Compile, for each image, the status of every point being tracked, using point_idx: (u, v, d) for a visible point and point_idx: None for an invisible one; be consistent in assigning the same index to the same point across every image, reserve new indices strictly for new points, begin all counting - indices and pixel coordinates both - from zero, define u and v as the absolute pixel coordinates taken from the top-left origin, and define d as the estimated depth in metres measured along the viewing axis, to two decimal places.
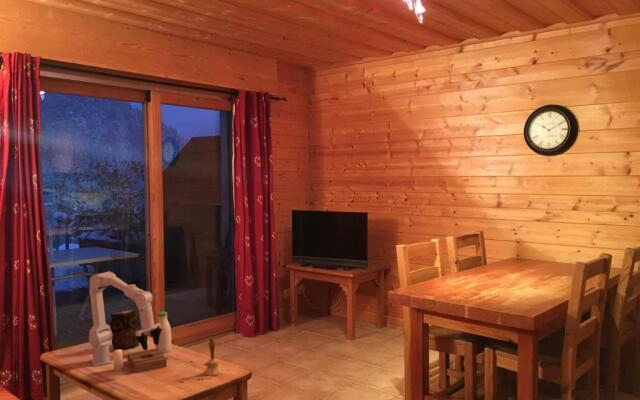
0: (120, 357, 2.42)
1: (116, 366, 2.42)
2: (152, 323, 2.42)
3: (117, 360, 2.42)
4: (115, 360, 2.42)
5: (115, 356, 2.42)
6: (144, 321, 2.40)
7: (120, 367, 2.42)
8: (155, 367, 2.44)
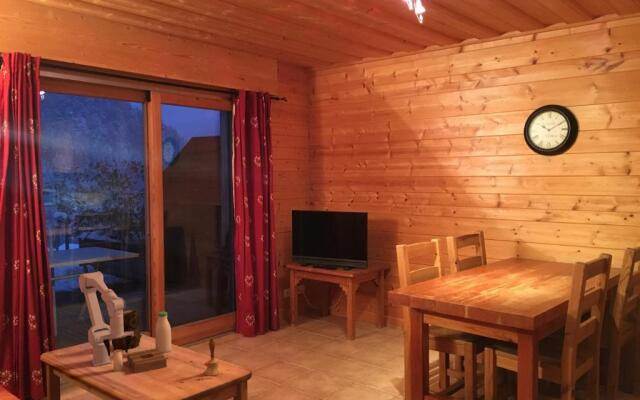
0: (120, 357, 2.42)
1: (116, 366, 2.42)
2: (118, 332, 2.41)
3: (117, 360, 2.42)
4: (115, 360, 2.42)
5: (115, 356, 2.42)
6: (111, 328, 2.41)
7: (120, 367, 2.42)
8: (155, 367, 2.44)
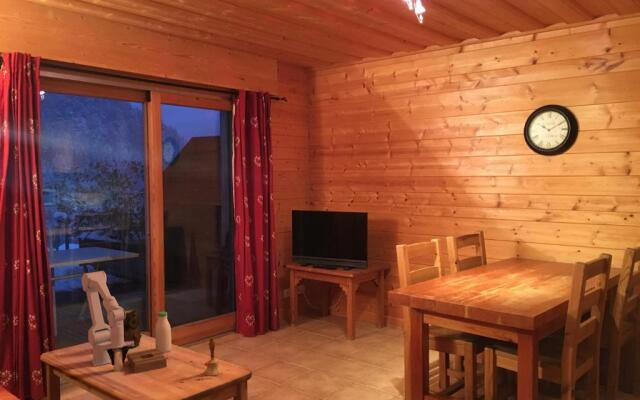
0: (120, 357, 2.42)
1: (116, 366, 2.42)
2: (118, 342, 2.41)
3: (117, 360, 2.42)
4: (115, 360, 2.42)
5: (115, 356, 2.42)
6: (111, 338, 2.41)
7: (120, 367, 2.42)
8: (155, 367, 2.44)
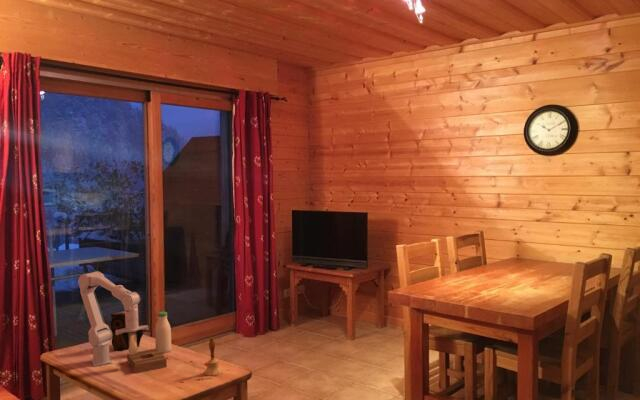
0: (135, 340, 2.45)
1: (131, 350, 2.45)
2: (133, 325, 2.44)
3: (132, 344, 2.45)
4: (130, 343, 2.45)
5: (130, 339, 2.45)
6: (126, 321, 2.44)
7: (135, 350, 2.46)
8: (155, 367, 2.44)
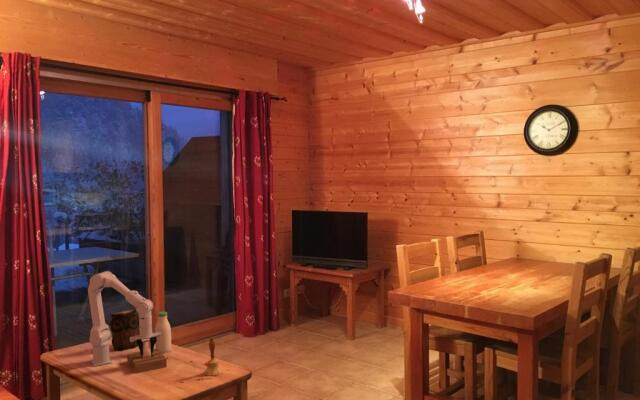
0: (149, 347, 2.49)
1: (145, 356, 2.48)
2: (147, 332, 2.48)
3: (146, 351, 2.48)
4: (144, 350, 2.48)
5: (144, 346, 2.48)
6: (140, 329, 2.48)
7: None
8: (155, 367, 2.44)
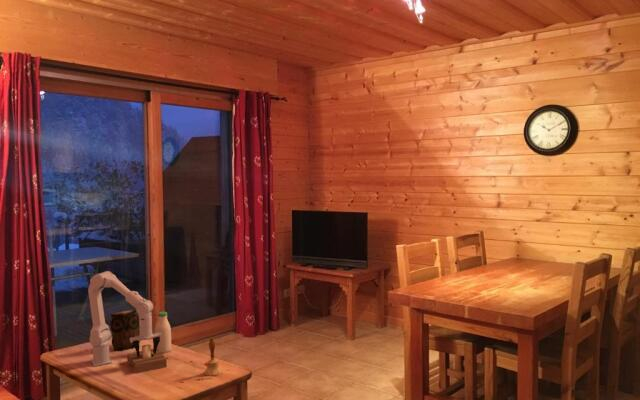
0: (149, 352, 2.49)
1: None
2: (147, 333, 2.48)
3: (146, 355, 2.48)
4: (144, 355, 2.48)
5: (144, 351, 2.48)
6: (140, 329, 2.48)
7: None
8: (155, 367, 2.44)
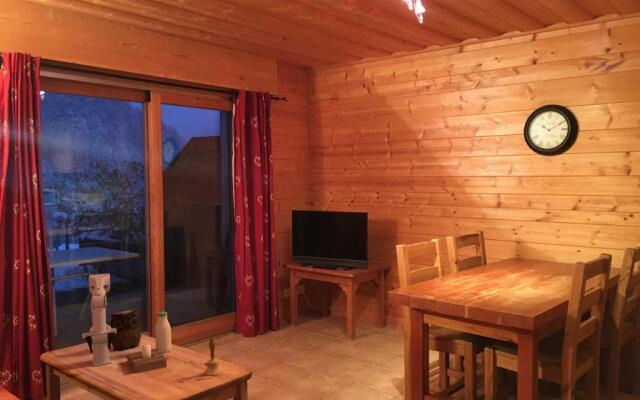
0: (149, 352, 2.49)
1: None
2: (100, 328, 2.40)
3: (146, 355, 2.48)
4: (144, 355, 2.48)
5: (144, 351, 2.48)
6: (93, 324, 2.40)
7: None
8: (155, 367, 2.44)
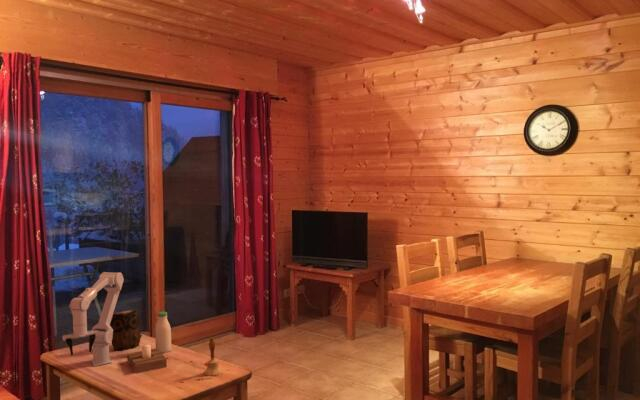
0: (149, 352, 2.49)
1: None
2: (81, 331, 2.37)
3: (146, 355, 2.48)
4: (144, 355, 2.48)
5: (144, 351, 2.48)
6: (73, 327, 2.37)
7: None
8: (155, 367, 2.44)
